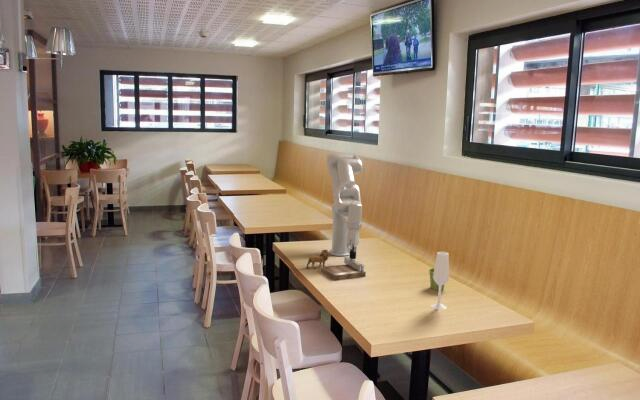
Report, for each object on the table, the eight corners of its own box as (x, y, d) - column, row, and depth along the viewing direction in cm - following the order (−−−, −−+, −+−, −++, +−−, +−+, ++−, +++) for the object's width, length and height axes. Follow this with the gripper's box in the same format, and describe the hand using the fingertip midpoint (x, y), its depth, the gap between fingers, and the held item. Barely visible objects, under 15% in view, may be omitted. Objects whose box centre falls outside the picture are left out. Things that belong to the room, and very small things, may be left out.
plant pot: (448, 286, 248) (449, 269, 246) (446, 292, 239) (447, 275, 238) (428, 284, 251) (429, 267, 249) (426, 289, 242) (427, 272, 241)
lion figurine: (324, 264, 278) (325, 248, 277) (330, 266, 274) (331, 250, 273) (303, 268, 269) (303, 251, 267) (309, 270, 265) (310, 254, 263)
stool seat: (350, 268, 272) (350, 263, 272) (365, 276, 259) (365, 271, 258) (320, 271, 264) (320, 267, 263) (334, 280, 251) (334, 275, 250)
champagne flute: (449, 309, 218) (454, 255, 214) (435, 310, 216) (439, 255, 212) (441, 303, 224) (445, 250, 220) (427, 304, 222) (431, 251, 218)
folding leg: (364, 271, 258) (364, 265, 258) (360, 271, 257) (360, 265, 257) (348, 262, 273) (348, 257, 272) (344, 263, 271) (344, 257, 271)
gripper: (350, 222, 282) (349, 254, 284) (343, 227, 267) (342, 261, 270) (364, 223, 279) (362, 256, 282) (357, 229, 265) (356, 263, 268)
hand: (352, 258), depth 276 cm, fingers closed
